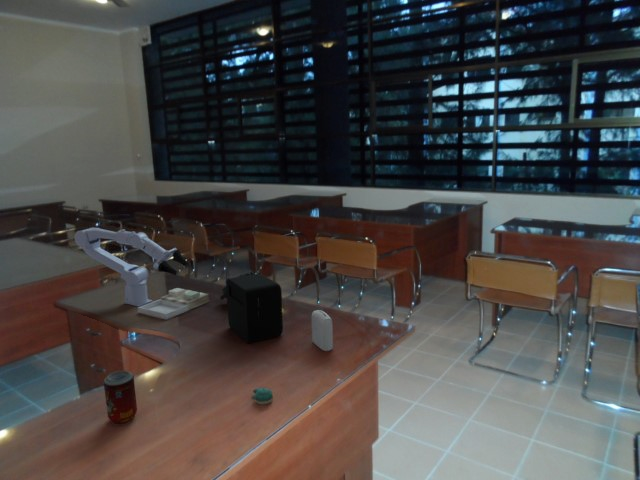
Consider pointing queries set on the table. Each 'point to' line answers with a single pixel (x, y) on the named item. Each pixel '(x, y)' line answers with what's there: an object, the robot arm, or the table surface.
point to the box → (163, 309)
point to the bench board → (191, 303)
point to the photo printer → (322, 330)
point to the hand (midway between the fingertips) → (181, 268)
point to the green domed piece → (262, 395)
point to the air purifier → (254, 307)
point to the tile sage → (191, 295)
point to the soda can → (120, 397)
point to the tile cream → (176, 292)
